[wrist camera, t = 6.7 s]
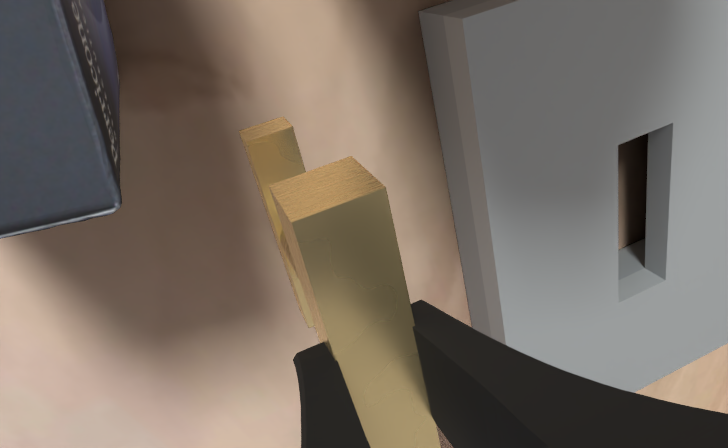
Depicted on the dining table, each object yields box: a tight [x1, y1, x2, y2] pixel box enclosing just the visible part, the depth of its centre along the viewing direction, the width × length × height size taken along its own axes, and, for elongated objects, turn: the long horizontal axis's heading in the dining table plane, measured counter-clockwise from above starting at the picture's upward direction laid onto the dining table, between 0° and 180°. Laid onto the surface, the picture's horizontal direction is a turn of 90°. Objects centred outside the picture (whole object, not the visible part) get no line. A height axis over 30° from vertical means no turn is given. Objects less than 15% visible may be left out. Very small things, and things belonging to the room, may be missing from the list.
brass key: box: [239, 117, 441, 448], centre depth 13 cm, size 2×7×7 cm, turn 14°
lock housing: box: [418, 0, 728, 393], centre depth 24 cm, size 20×14×3 cm
